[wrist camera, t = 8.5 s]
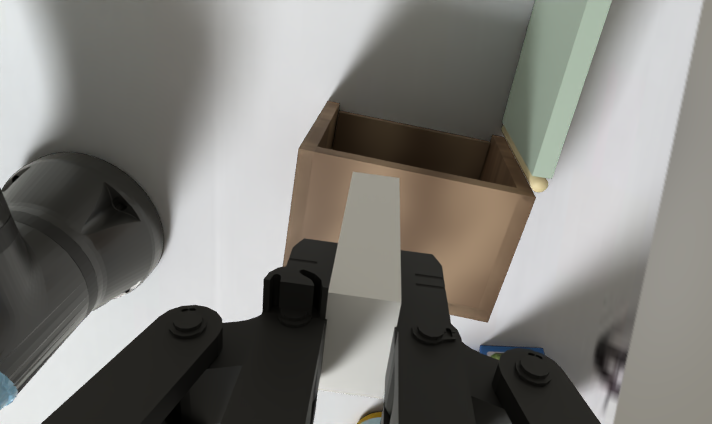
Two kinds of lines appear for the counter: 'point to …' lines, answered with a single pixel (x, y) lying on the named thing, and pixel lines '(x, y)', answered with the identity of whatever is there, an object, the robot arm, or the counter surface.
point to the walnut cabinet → (419, 197)
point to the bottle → (371, 418)
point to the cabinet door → (550, 82)
